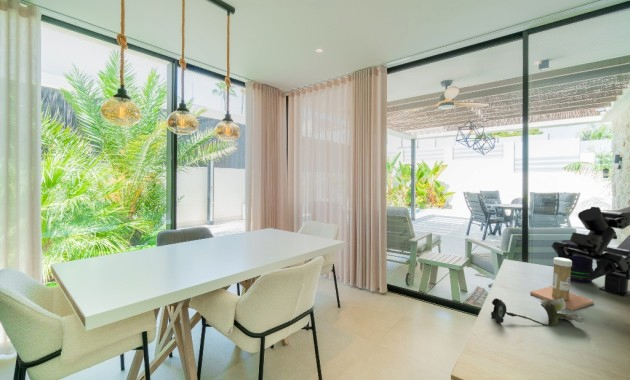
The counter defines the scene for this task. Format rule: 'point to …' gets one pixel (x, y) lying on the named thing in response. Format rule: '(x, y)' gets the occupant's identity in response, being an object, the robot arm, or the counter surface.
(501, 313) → the artificial flower
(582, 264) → the storage jar
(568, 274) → the sprinkles bottle
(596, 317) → the counter surface
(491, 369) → the counter surface
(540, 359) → the counter surface
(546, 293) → the terracotta tile
